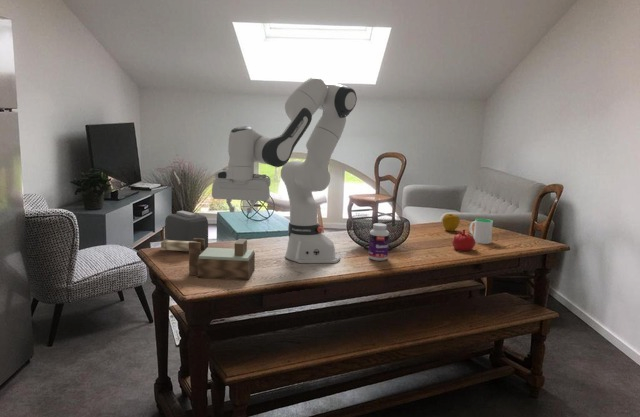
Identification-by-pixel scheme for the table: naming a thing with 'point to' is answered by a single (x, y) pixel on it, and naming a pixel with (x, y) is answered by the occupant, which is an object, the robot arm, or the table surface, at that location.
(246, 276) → the chest
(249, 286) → the table surface
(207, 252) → the lid
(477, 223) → the mug
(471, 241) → the pomegranate
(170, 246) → the bar
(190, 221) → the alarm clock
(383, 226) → the pill bottle
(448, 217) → the apple
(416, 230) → the table surface
